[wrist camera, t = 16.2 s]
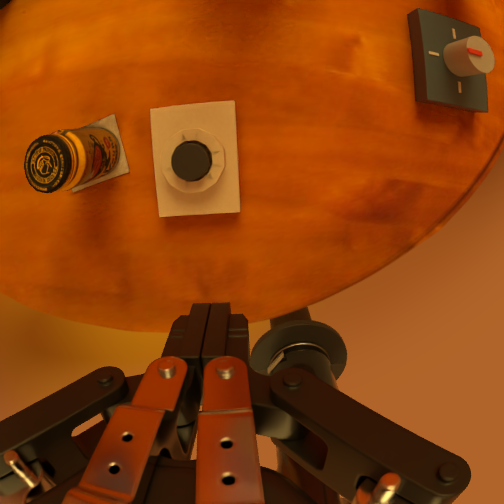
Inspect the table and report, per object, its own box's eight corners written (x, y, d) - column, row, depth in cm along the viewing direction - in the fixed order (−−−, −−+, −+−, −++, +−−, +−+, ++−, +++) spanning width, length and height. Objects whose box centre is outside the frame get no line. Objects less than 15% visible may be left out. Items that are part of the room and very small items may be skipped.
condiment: (130, 171, 35) (82, 190, 24) (73, 192, 36) (16, 217, 24) (115, 113, 33) (61, 109, 21) (58, 138, 33) (-3, 146, 22)
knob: (467, 46, 26) (493, 40, 21) (472, 79, 28) (498, 76, 23) (440, 40, 26) (465, 31, 21) (445, 74, 28) (471, 68, 23)
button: (211, 176, 32) (208, 179, 30) (176, 179, 32) (172, 181, 30) (208, 141, 31) (206, 142, 29) (173, 144, 31) (169, 145, 29)
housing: (240, 207, 37) (240, 216, 33) (164, 212, 37) (154, 221, 33) (235, 102, 33) (233, 98, 29) (155, 110, 33) (144, 107, 29)
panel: (475, 112, 32) (489, 112, 29) (415, 101, 32) (428, 99, 29) (467, 31, 28) (480, 27, 25) (406, 14, 28) (418, 7, 25)
